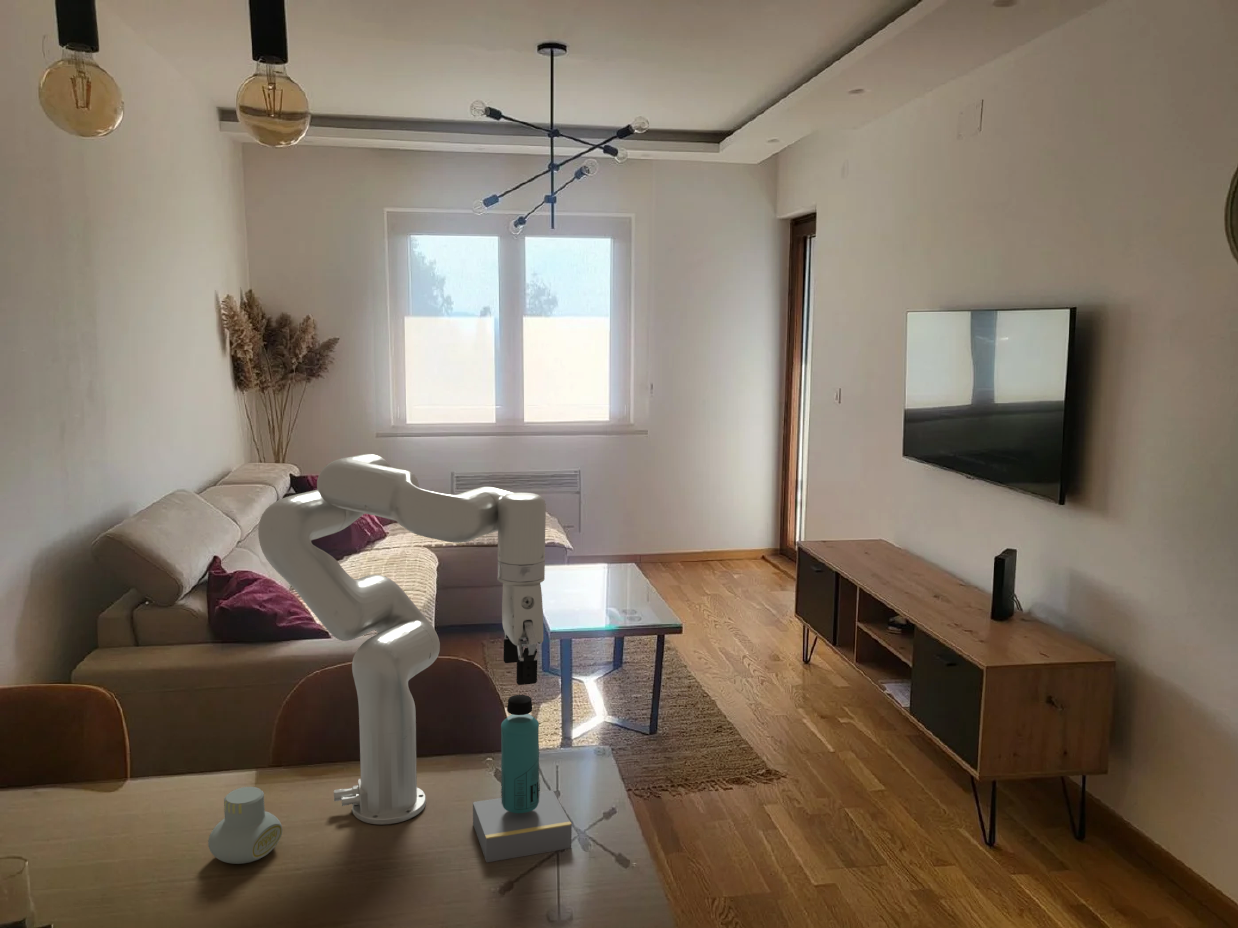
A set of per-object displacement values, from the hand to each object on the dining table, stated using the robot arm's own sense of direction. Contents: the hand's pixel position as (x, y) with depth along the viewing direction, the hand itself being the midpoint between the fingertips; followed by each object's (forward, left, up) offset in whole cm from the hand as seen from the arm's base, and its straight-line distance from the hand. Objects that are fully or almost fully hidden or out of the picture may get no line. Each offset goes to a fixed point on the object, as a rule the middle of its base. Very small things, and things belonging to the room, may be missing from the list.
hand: (519, 672), depth 149 cm
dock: (0, 0, -28) cm, 28 cm away
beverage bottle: (0, 0, -25) cm, 25 cm away
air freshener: (-43, +8, -29) cm, 52 cm away
